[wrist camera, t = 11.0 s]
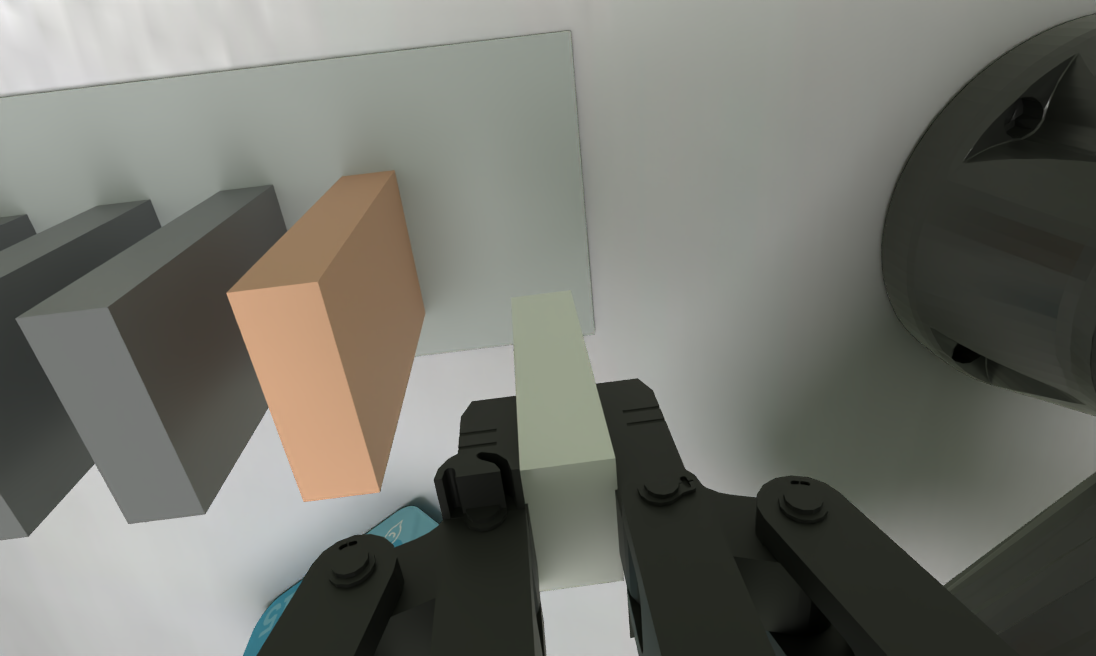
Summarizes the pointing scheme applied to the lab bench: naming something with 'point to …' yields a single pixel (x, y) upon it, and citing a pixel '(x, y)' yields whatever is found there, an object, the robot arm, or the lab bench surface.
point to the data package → (394, 529)
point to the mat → (345, 161)
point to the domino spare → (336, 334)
